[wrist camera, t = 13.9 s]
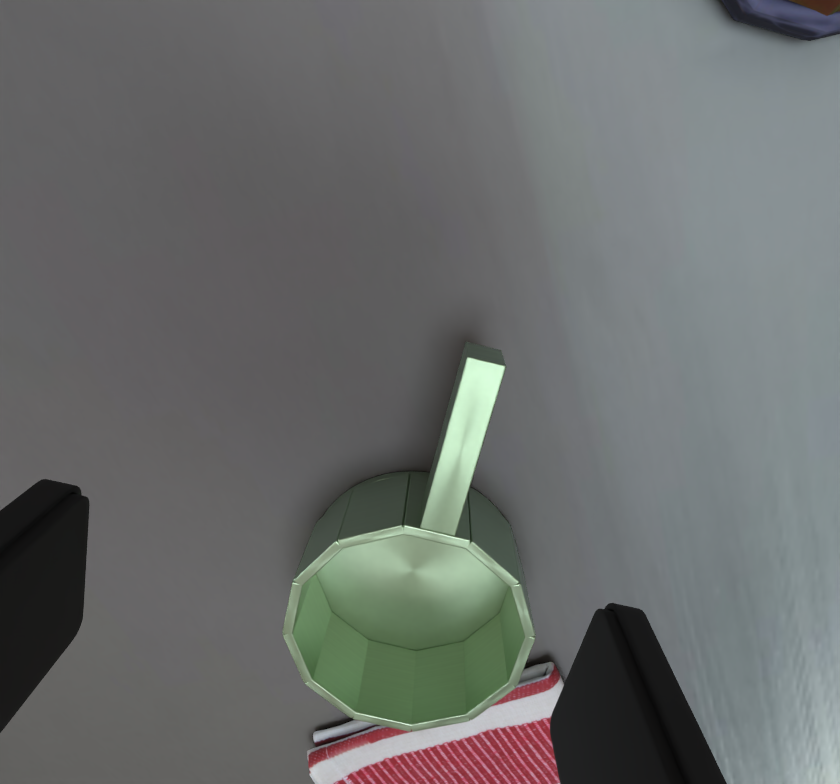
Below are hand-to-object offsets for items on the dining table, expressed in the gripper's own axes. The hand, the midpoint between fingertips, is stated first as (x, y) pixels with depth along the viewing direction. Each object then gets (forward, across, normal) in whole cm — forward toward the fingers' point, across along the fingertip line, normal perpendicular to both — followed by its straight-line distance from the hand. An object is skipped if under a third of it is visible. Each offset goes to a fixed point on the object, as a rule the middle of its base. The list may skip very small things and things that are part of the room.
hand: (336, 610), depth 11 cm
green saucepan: (+19, -4, +8) cm, 21 cm away
